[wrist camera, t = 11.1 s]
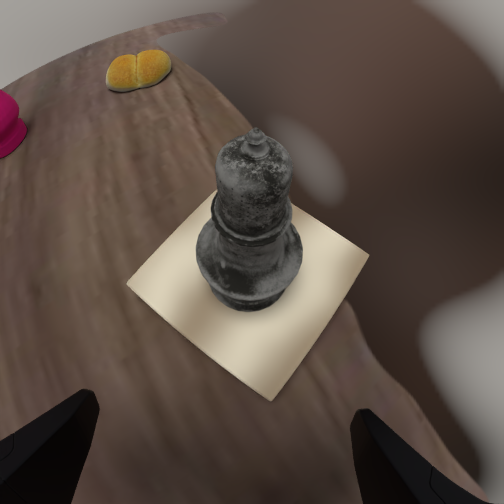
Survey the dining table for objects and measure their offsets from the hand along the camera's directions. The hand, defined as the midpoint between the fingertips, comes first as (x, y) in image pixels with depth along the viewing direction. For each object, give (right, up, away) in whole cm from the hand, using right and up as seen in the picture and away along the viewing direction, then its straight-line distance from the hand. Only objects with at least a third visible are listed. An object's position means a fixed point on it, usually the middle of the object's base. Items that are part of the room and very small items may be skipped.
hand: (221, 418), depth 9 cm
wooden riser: (+1, +3, +13) cm, 14 cm away
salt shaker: (+1, +4, +11) cm, 12 cm away
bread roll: (-15, +29, +26) cm, 42 cm away
